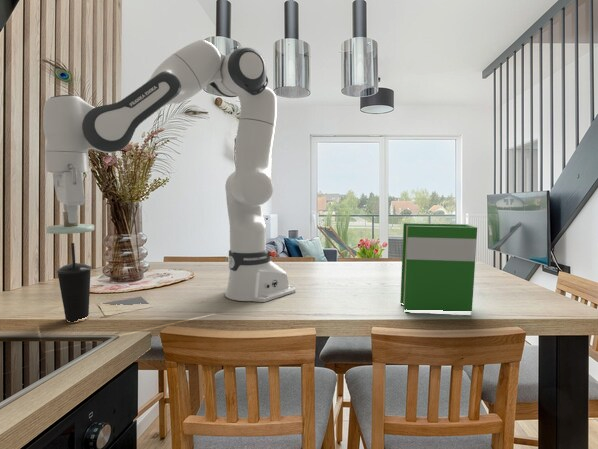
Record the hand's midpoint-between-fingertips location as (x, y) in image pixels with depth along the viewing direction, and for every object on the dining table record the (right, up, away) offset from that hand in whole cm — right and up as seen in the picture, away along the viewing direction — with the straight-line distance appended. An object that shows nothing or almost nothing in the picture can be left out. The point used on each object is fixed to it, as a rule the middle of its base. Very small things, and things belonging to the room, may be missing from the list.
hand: (71, 222), depth 92 cm
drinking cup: (0, -25, +3) cm, 25 cm away
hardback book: (+94, -25, +13) cm, 98 cm away
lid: (0, -2, 0) cm, 2 cm away
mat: (+7, -24, +13) cm, 28 cm away
